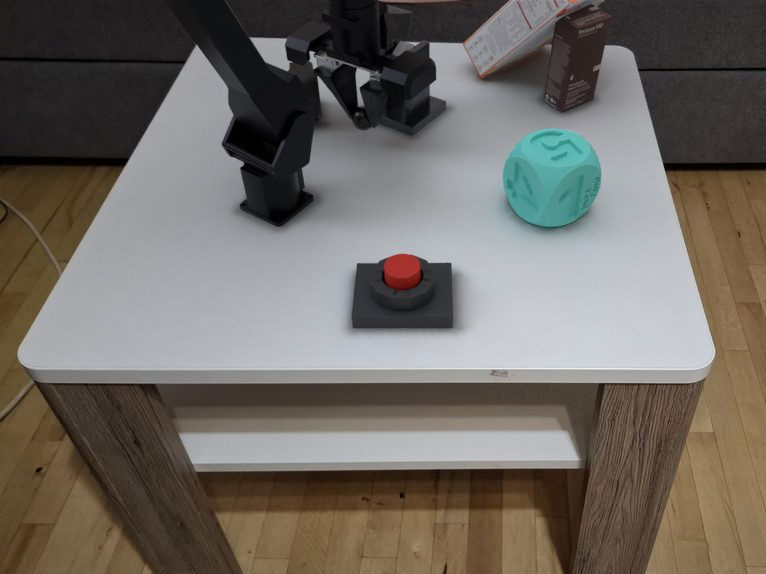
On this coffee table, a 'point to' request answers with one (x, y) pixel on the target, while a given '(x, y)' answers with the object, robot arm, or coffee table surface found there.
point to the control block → (403, 298)
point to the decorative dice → (552, 177)
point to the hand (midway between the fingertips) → (364, 122)
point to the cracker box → (517, 31)
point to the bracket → (411, 102)
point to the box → (576, 57)
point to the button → (402, 271)
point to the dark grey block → (308, 84)
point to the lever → (359, 113)
